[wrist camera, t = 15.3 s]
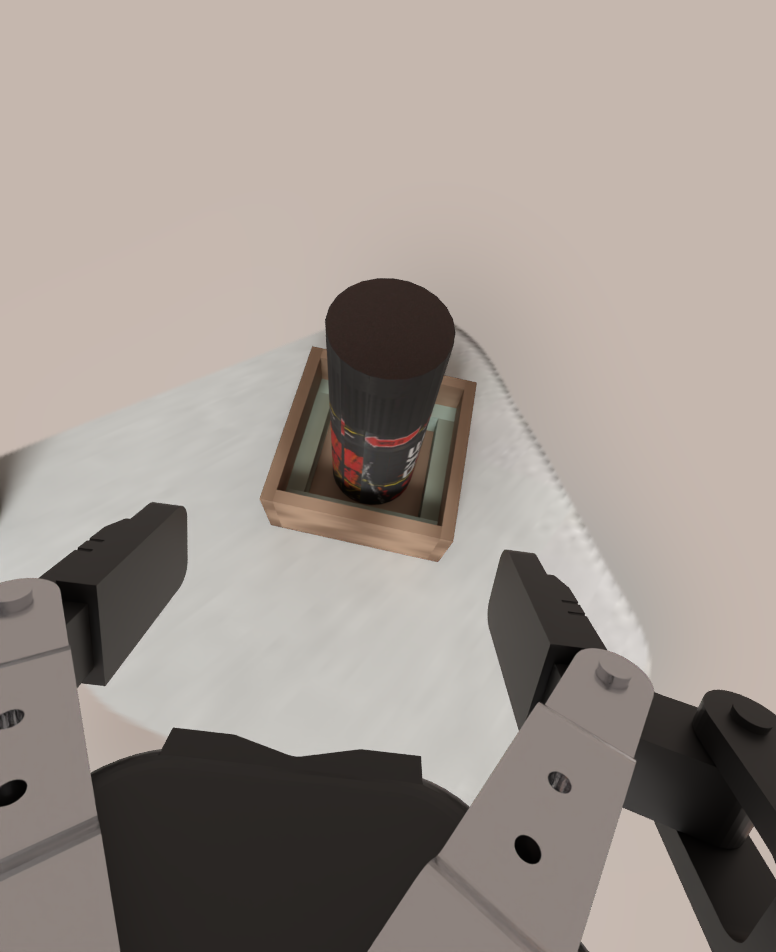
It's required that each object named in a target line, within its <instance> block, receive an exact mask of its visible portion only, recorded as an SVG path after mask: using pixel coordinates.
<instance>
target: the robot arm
mask: <svg viewBox="0 0 776 952" xmlns="http://www.w3.org/2000/svg"><path fill="white" fill-rule="evenodd" d="M187 560H188V559H187V512H186V509H185V508H184V507H183V506H178V505H170V504H162V503H155V502H152V503H150V504H148V505H147V506H146V507H144V508H143V509H142V510H141V511H140V512H138V513H137V514H136V515H135V516H134V517H132V518H131V519H123V520H121V521H118V522H116V523H113V524H111V525H108V526H106V527H104V528H103V529H101V530H100V531H99V532H97V533H96V534H95V535H93V536H92V537H91V538H90V540H89V541H86V542H84V543H83V544H82V545H81V546H79V547H78V550H74V551H73V552H72V553H70V554H69V555H68V556H66V557H65V558H64V559H63V560H61V561H60V562H59V563H57V564H56V565H55V566H54V567H52V568H51V569H50V570H48V571H47V572H46V573H44V574H43V575H42V576H41V577H39V578H24V579H15V580H10V581H5V582H2V583H0V952H589V951H588V950H587V949H586V947H585V946H584V945H583V944H582V942H581V939H582V935H583V932H584V929H585V926H586V923H587V919H588V916H589V913H590V910H591V907H592V903H593V900H594V897H595V894H596V890H597V887H598V884H599V881H600V877H601V874H602V871H603V868H604V865H605V861H606V858H607V855H608V852H609V848H610V845H611V842H612V839H613V836H614V832H615V829H616V826H617V822H618V819H619V816H620V813H621V810H622V807H623V808H625V809H627V810H630V811H632V812H635V813H637V814H639V815H642V816H644V817H647V818H649V819H651V820H654V822H655V825H656V827H657V829H658V831H659V834H660V836H661V838H662V840H663V842H664V845H665V847H666V849H667V851H668V854H669V856H670V858H671V860H672V863H673V865H674V867H675V870H676V872H677V874H678V876H679V879H680V881H681V883H682V885H683V887H684V890H685V892H686V894H687V897H688V899H689V901H690V903H691V905H692V907H693V910H694V912H695V914H696V917H697V919H698V921H699V923H700V926H701V928H702V930H703V932H704V935H705V937H706V939H707V941H708V944H709V946H710V948H711V950H712V952H776V879H775V877H774V876H773V874H772V872H771V871H770V869H769V867H768V866H767V864H766V863H765V861H764V859H763V858H762V856H761V854H760V853H759V851H758V850H757V848H756V846H755V845H754V843H753V841H752V840H751V838H750V836H749V833H750V831H751V830H752V828H753V827H755V828H756V830H757V831H758V833H759V834H760V836H761V838H762V839H763V841H764V842H765V844H766V846H767V847H768V849H769V850H770V852H771V854H772V856H773V858H774V860H775V863H776V715H775V714H774V713H772V712H771V711H770V710H768V709H767V708H765V707H764V706H762V705H760V704H759V703H757V702H755V701H753V700H751V699H749V698H747V697H744V696H742V695H740V694H736V693H733V692H729V691H725V690H712V691H709V692H707V693H706V694H705V695H704V697H703V699H702V701H701V703H700V705H699V707H698V708H697V707H695V706H692V705H689V704H686V703H683V702H680V701H677V700H674V699H672V698H669V697H666V696H663V695H660V694H658V693H655V692H654V688H653V685H652V683H651V681H650V679H649V678H648V676H647V675H646V674H645V673H644V672H643V671H642V670H641V669H640V668H639V667H638V666H636V665H635V664H634V663H632V662H631V661H629V660H628V659H626V658H624V657H622V656H620V655H618V654H616V653H613V652H610V651H607V649H606V647H605V646H604V644H603V642H602V641H601V639H600V637H599V636H598V634H597V632H596V631H595V629H594V628H593V626H592V624H591V623H590V621H589V619H588V618H587V616H585V613H584V611H583V610H582V608H581V606H580V605H578V601H577V600H576V598H575V596H574V595H573V593H572V592H571V590H570V588H569V587H567V586H566V585H565V584H564V583H563V582H561V581H560V580H559V579H558V578H557V577H556V576H554V575H548V574H546V572H545V570H544V568H543V566H542V565H541V563H540V561H539V559H538V557H537V556H536V554H534V553H528V552H520V551H512V550H504V551H503V552H502V554H501V557H500V561H499V565H498V568H497V572H496V576H495V580H494V584H493V588H492V592H491V596H490V600H489V605H488V625H489V629H490V633H491V636H492V640H493V643H494V647H495V650H496V653H497V657H498V660H499V664H500V667H501V671H502V674H503V678H504V681H505V685H506V688H507V691H508V695H509V698H510V702H511V705H512V709H513V712H514V716H515V719H516V723H517V726H518V729H519V732H518V734H517V735H516V737H515V738H514V740H513V741H512V743H511V744H510V746H509V747H508V749H507V751H506V752H505V754H504V755H503V757H502V758H501V760H500V761H499V763H498V764H497V766H496V767H495V769H494V771H493V772H492V774H491V775H490V777H489V778H488V780H487V781H486V783H485V784H484V786H483V788H482V789H481V791H480V792H479V794H478V795H477V797H476V798H475V800H474V801H473V803H472V804H471V806H470V807H469V806H468V805H467V804H465V803H464V802H463V801H462V800H461V799H459V798H458V797H457V796H455V795H454V794H452V793H450V792H449V791H447V790H446V789H444V788H442V787H440V786H438V785H436V784H434V783H433V782H430V781H428V780H425V779H423V778H422V766H421V756H415V755H406V754H397V753H389V752H380V751H371V750H363V749H359V750H351V751H343V752H335V753H327V754H319V755H311V756H302V757H295V756H290V755H287V754H284V753H282V752H279V751H276V750H274V749H271V748H268V747H266V746H263V745H261V744H258V743H255V742H253V741H250V740H247V739H245V738H242V737H239V736H237V735H233V734H224V733H215V732H207V731H198V730H189V729H181V728H173V729H172V730H171V732H170V734H169V736H168V738H167V740H166V742H165V744H164V746H163V748H162V749H160V750H153V751H148V752H144V753H139V754H135V755H132V756H129V757H126V758H123V759H120V760H117V761H115V762H113V763H110V764H108V765H105V766H103V767H101V768H99V769H97V770H95V771H93V772H92V773H90V767H89V761H88V754H87V748H86V742H85V736H84V730H83V723H82V717H81V711H80V704H79V699H78V692H77V688H78V687H79V685H80V684H81V683H84V684H92V685H100V686H106V685H107V683H108V682H109V681H110V679H111V678H112V677H113V675H114V674H115V673H116V671H117V670H118V669H119V667H120V666H121V665H122V663H123V662H124V661H125V659H126V658H127V657H128V655H129V654H130V653H131V651H132V650H133V649H134V647H135V646H136V645H137V643H138V642H139V641H140V639H141V638H142V637H143V635H144V634H145V633H146V631H147V630H148V629H149V627H150V626H151V625H152V623H153V622H154V621H155V619H156V618H157V617H158V616H159V614H160V613H161V612H162V610H163V609H164V608H165V606H166V605H167V604H168V602H169V601H170V600H171V598H172V597H173V596H174V594H175V593H176V592H177V590H178V589H179V588H180V586H181V584H182V582H183V580H184V577H185V574H186V570H187Z"/></svg>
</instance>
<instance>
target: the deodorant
mask: <svg viewBox="0 0 776 952" xmlns="http://www.w3.org/2000/svg"><path fill="white" fill-rule="evenodd" d="M325 324H326V346H327V366H328V386H329V405H330V425H331V445H332V465H333V476H334V479H335V481H336V484H337V485H338V487H339V488H340V490H341V491H342V492H343V493H344V494H345V495H347V496H348V497H349V498H350V499H352V500H355V501H357V502H359V503H363V504H368V505H380V504H384V503H387V502H390V501H392V500H394V499H396V498H397V497H399V496H400V495H401V494H402V493H403V492H404V491H405V490H406V488H407V486H408V484H409V482H410V480H411V477H412V474H413V471H414V468H415V465H416V462H417V459H418V455H419V452H420V449H421V446H422V443H423V440H424V436H425V433H426V430H427V427H428V424H429V421H430V418H431V414H432V411H433V408H434V405H435V402H436V399H437V396H438V392H439V389H440V386H441V383H442V380H443V377H444V373H445V370H446V367H447V364H448V361H449V358H450V355H451V351H452V348H453V344H454V338H455V328H454V322H453V318H452V317H451V315H450V313H449V311H448V309H447V307H446V306H445V305H444V304H443V303H442V302H441V301H440V300H439V299H438V297H437V296H435V295H434V294H432V293H431V292H429V291H428V290H427V289H425V288H423V287H421V286H418V285H416V284H414V283H411V282H408V281H403V280H398V279H385V278H384V279H383V278H380V279H378V278H377V279H373V280H367V281H362V282H360V283H357V284H355V285H353V286H350V287H348V288H347V289H346V290H345V291H343V292H342V293H341V294H339V295H338V296H337V297H336V298H335V300H334V301H333V303H332V304H331V306H330V307H329V310H328V313H327V316H326V319H325Z"/></svg>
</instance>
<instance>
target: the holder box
mask: <svg viewBox="0 0 776 952" xmlns="http://www.w3.org/2000/svg"><path fill="white" fill-rule="evenodd" d="M476 384H477V383H476V382H472V381H467V380H463V379H458V378H454V377H449V376H445V375H444V377H443V380H442V383H441V386H440V389H439V392H438V396H437V399H436V402H435V405H434V408H433V411H432V414H431V418H430V421H429V424H428V427H427V430H426V433H425V436H424V440H423V443H422V446H421V449H420V452H419V455H418V459H417V462H416V465H415V468H414V471H413V474H412V477H411V480H410V482H409V484H408V486H407V488H406V490H405V491H404V492H403V493H402V494H401V495H400V496H399V497H397V498H396V499H394V500H392V501H390V502H387V503H384V504H380V505H368V504H363V503H359V502H357V501H355V500H352V499H350V498H349V497H348V496H347V495H345V494H344V493H343V492H342V491H341V490H340V488H339V487H338V485H337V484H336V481H335V479H334V476H333V465H332V445H331V425H330V405H329V386H328V366H327V349H322V348H318V347H313V346H312V349H311V352H310V355H309V357H308V360H307V363H306V366H305V369H304V372H303V375H302V378H301V381H300V383H299V386H298V389H297V392H296V395H295V398H294V401H293V404H292V407H291V409H290V412H289V415H288V418H287V421H286V424H285V427H284V430H283V433H282V435H281V438H280V441H279V444H278V447H277V450H276V453H275V456H274V459H273V461H272V464H271V467H270V470H269V473H268V476H267V479H266V482H265V485H264V487H263V490H262V493H261V496H260V501H261V503H262V505H263V508H264V510H265V512H266V514H267V517H268V519H269V521H270V524H271V525H274V526H278V527H283V528H287V529H292V530H296V531H301V532H305V533H310V534H314V535H319V536H323V537H328V538H332V539H337V540H341V541H346V542H350V543H355V544H359V545H364V546H368V547H373V548H377V549H382V550H386V551H391V552H395V553H400V554H404V555H409V556H413V557H418V558H422V559H427V560H431V561H435V562H438V561H439V560H440V559H441V557H442V556H443V555H444V553H445V552H446V551H447V549H448V548H449V547H450V545H451V544H452V543H453V539H454V532H455V526H456V519H457V512H458V506H459V499H460V492H461V485H462V479H463V472H464V465H465V458H466V452H467V445H468V438H469V431H470V425H471V418H472V411H473V405H474V398H475V391H476Z"/></svg>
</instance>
